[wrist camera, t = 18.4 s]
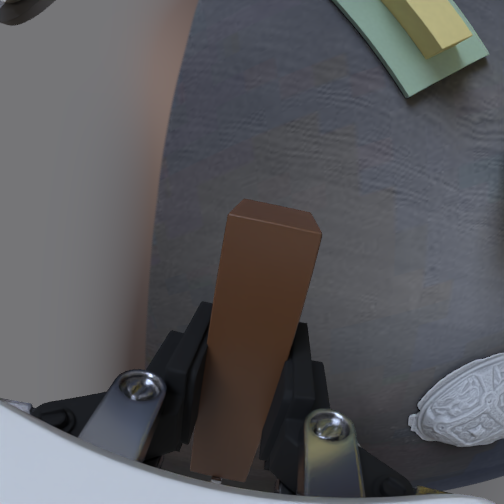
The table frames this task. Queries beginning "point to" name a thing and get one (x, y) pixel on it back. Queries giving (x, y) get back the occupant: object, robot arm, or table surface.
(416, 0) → the butter block
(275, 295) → the knife
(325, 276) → the table surface
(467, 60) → the butter dish
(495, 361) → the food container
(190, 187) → the table surface
